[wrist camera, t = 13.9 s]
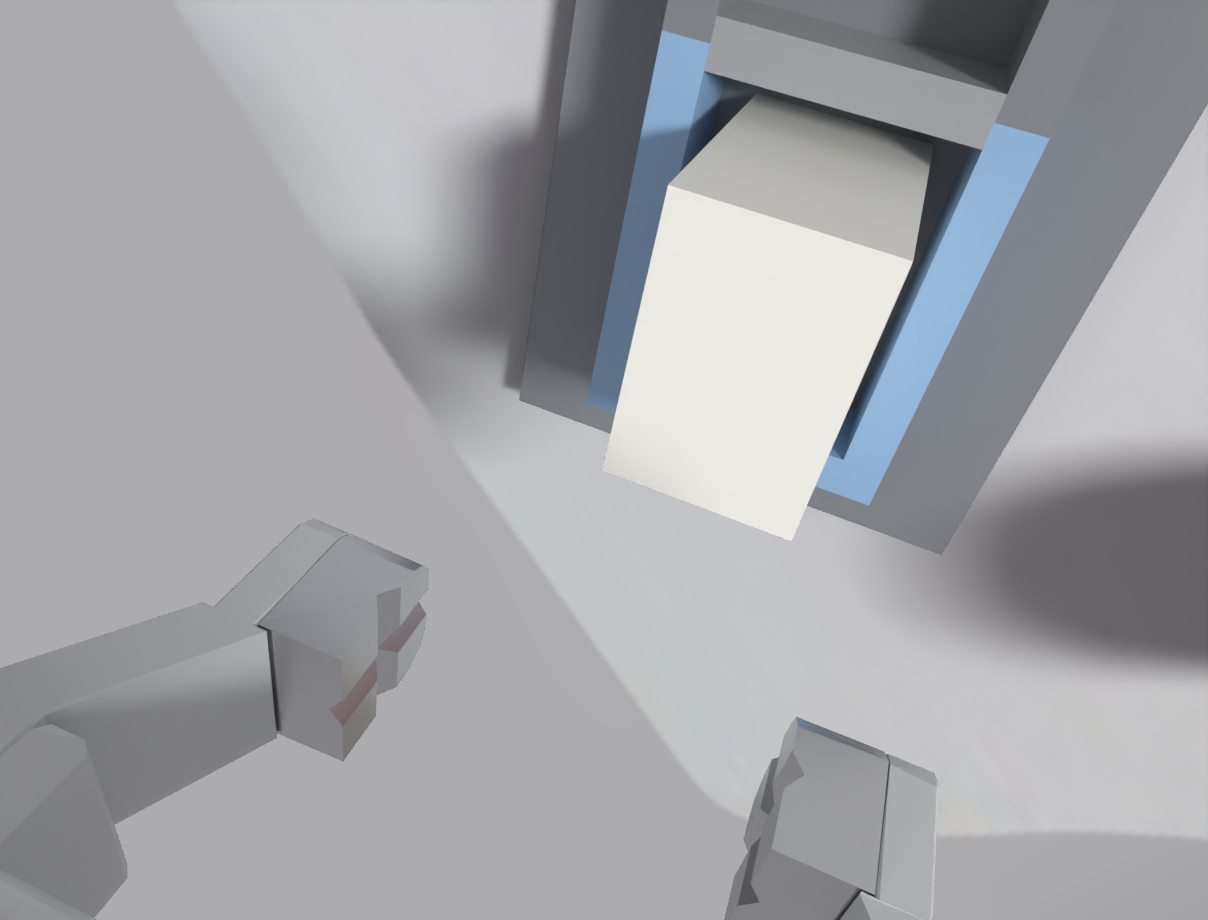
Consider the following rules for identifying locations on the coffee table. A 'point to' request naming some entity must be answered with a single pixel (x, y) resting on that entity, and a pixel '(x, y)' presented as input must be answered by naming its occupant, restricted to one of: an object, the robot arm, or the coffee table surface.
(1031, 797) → the coffee table surface
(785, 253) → the plug
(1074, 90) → the divided sorting tray
